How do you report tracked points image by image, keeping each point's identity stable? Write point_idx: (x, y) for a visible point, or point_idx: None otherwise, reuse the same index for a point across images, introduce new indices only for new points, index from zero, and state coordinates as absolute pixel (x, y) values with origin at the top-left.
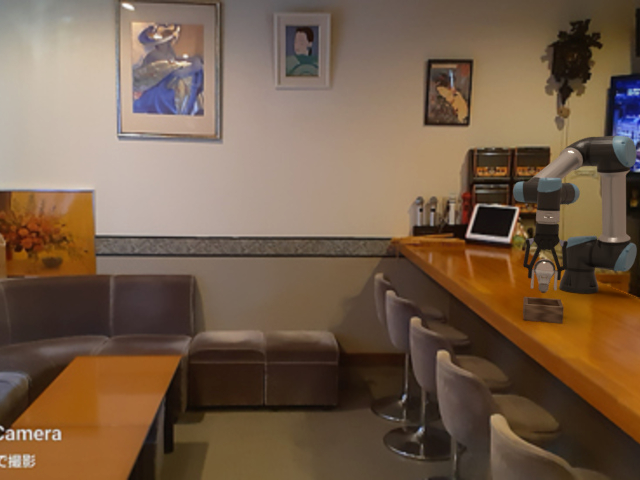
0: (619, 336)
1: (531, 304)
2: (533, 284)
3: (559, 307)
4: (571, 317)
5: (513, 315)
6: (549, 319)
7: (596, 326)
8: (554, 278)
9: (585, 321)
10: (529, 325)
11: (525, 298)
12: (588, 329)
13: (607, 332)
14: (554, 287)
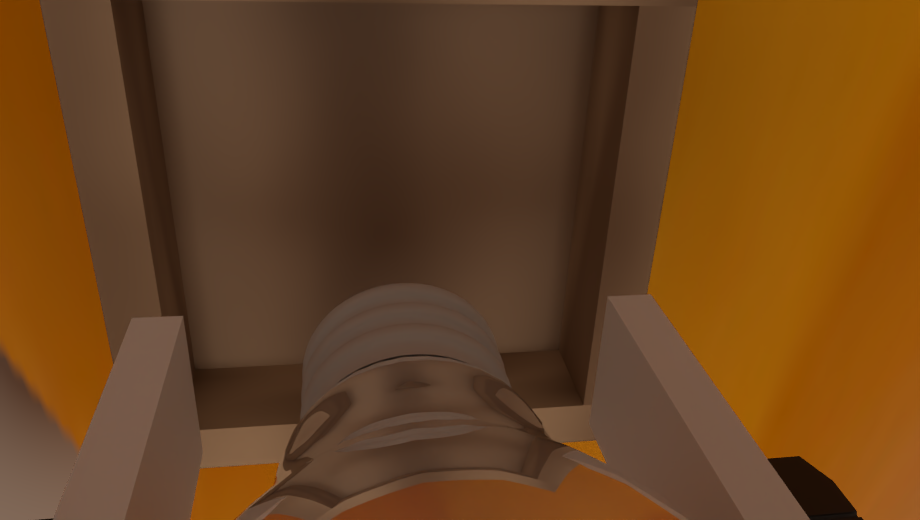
0: (908, 514)
1: (227, 438)
2: (189, 512)
3: (575, 439)
4: (728, 32)
5: (14, 174)
6: None
7: (857, 315)
8: (686, 501)
9: (825, 167)
10: (248, 491)
11: (84, 79)
12: (749, 427)
13: (869, 453)
14: (607, 455)
